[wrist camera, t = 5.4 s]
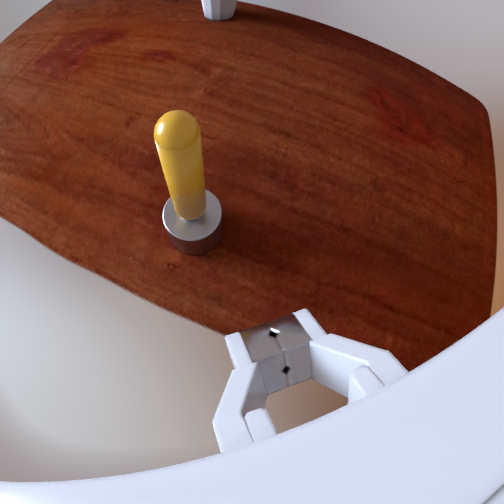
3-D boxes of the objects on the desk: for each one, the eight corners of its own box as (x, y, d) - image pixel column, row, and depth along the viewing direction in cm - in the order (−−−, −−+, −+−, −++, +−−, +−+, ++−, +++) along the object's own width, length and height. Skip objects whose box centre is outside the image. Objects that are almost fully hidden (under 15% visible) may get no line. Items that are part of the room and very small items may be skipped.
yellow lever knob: (232, 223, 28) (240, 107, 15) (201, 265, 27) (180, 170, 13) (190, 197, 29) (170, 77, 15) (158, 237, 27) (110, 130, 14)
